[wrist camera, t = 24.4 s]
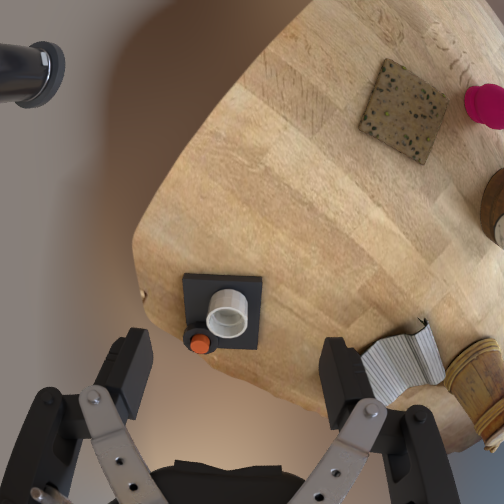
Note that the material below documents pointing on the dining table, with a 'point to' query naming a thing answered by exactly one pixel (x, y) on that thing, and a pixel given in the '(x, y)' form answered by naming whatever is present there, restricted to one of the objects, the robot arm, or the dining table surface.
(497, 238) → the wooden container
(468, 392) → the tankard
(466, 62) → the dining table surface
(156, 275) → the dining table surface
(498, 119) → the pepper mill
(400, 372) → the mat
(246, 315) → the white cup
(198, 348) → the button
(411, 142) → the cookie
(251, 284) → the scale
